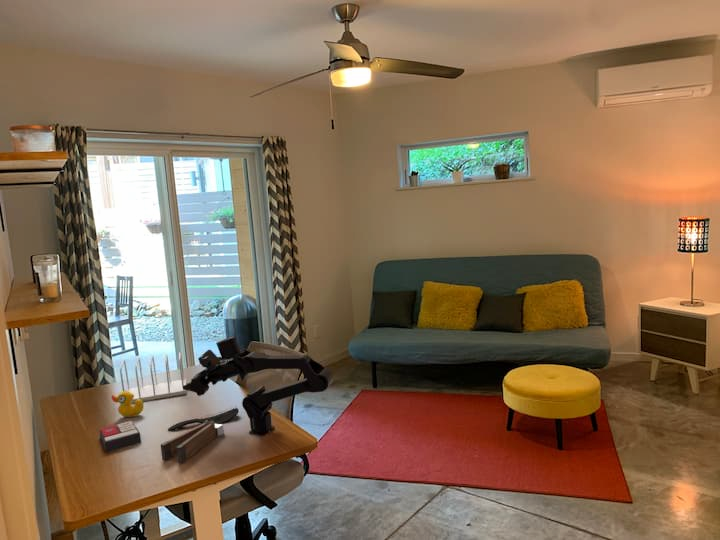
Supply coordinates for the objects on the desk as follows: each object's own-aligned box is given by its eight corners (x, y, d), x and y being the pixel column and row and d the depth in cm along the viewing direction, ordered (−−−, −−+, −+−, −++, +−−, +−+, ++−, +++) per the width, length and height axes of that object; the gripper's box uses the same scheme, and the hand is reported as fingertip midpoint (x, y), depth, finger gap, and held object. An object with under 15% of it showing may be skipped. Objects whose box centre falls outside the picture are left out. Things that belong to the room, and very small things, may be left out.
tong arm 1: (211, 436, 178) (209, 420, 177) (165, 460, 162) (163, 443, 162) (208, 435, 179) (206, 420, 178) (162, 459, 163) (160, 442, 162)
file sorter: (186, 382, 239) (182, 349, 237) (186, 395, 223) (182, 359, 221) (126, 392, 231) (122, 358, 230) (122, 405, 215) (117, 368, 213)
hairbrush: (166, 419, 190) (236, 402, 198) (168, 429, 190) (237, 412, 199) (167, 428, 182) (239, 410, 191) (168, 438, 183) (241, 419, 191)
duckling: (111, 420, 199) (107, 395, 198) (117, 414, 205) (114, 390, 204) (141, 418, 200) (138, 392, 198) (146, 412, 205) (143, 387, 204)
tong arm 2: (216, 436, 177) (214, 421, 177) (181, 463, 160) (179, 446, 159) (212, 436, 178) (210, 420, 177) (178, 463, 160) (175, 445, 159)
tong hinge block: (224, 433, 180) (223, 424, 180) (218, 437, 177) (217, 428, 177) (213, 432, 182) (212, 423, 182) (207, 435, 179) (207, 426, 179)
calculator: (132, 419, 190) (139, 430, 177) (133, 431, 190) (141, 443, 178) (98, 428, 184) (104, 440, 172) (100, 440, 185) (105, 453, 172)
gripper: (229, 338, 188) (193, 351, 192) (205, 359, 170) (165, 372, 174) (242, 366, 189) (206, 378, 194) (219, 390, 172) (179, 402, 176)
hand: (189, 381), depth 184 cm, fingers open, 9 cm apart
